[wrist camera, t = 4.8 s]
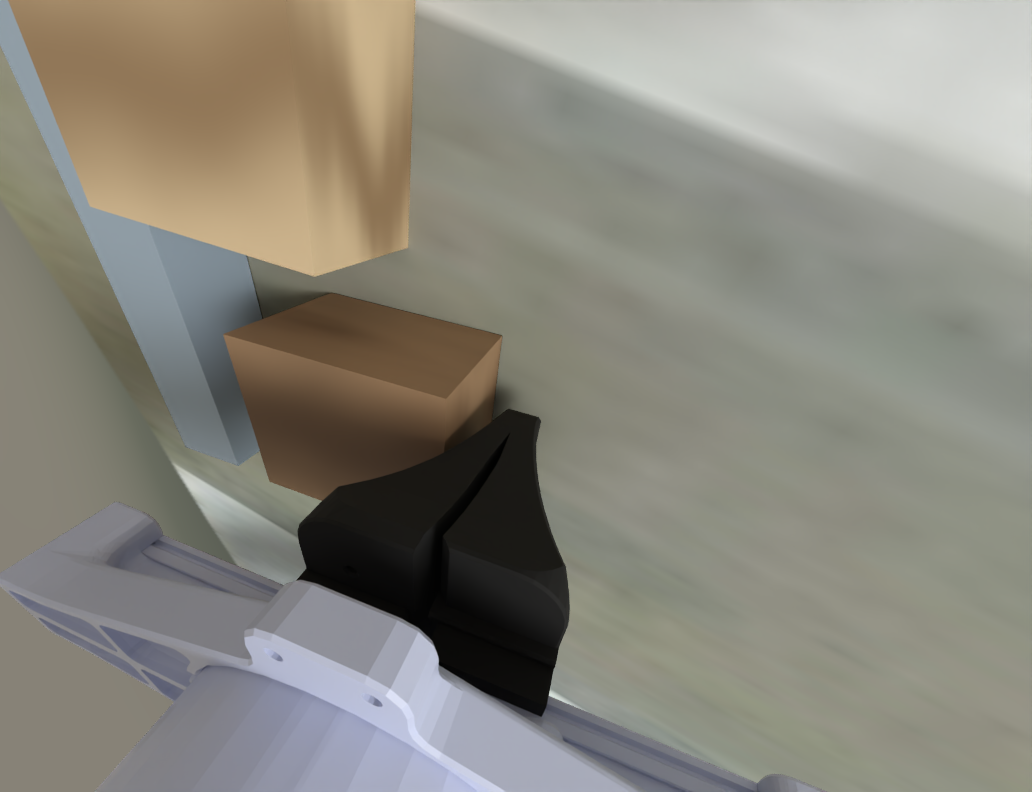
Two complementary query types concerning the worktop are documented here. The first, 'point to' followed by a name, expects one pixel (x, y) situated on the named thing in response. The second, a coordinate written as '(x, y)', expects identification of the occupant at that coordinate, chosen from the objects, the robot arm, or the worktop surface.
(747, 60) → the worktop surface
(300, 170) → the oak block
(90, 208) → the batten
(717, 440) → the worktop surface
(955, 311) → the worktop surface
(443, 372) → the walnut block
